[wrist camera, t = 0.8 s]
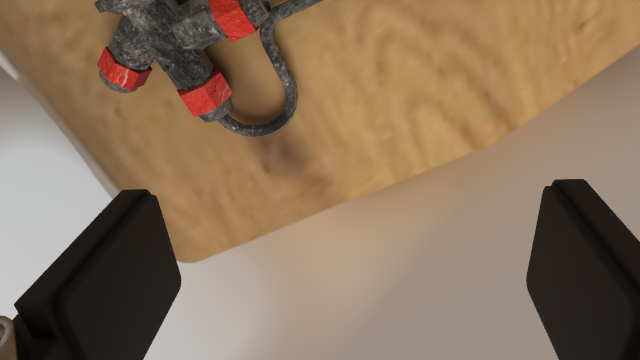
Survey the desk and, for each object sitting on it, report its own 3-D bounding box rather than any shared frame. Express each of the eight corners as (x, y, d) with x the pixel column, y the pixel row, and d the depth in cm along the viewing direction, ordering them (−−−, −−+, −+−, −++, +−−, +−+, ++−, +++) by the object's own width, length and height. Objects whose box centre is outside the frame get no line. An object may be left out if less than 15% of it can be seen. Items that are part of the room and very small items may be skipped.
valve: (183, 151, 43) (76, 2, 34) (447, 46, 37) (393, -164, 28) (165, 191, 37) (33, 27, 29) (469, 76, 31) (409, -170, 23)
